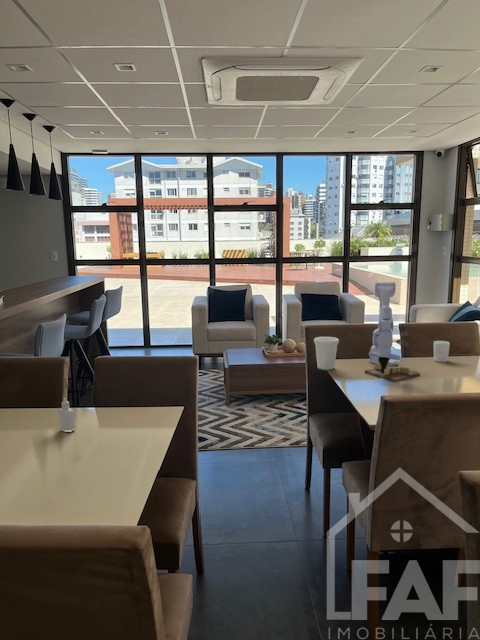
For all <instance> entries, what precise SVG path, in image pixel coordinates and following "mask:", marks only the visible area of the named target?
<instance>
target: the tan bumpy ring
mask: <svg viewBox="0 0 480 640" xmlns="http://www.w3.org/2000/svg"><path fill="white" fill-rule="evenodd" d="M389 362H390V361H389ZM389 362H388V363H387V365H386V368H385V369H384V375H390V374H391V373H392V374H398V373H405V374H409V373H410V371H411V369H410V368H411V367H410V366H406V365H405V366H404V365H403V364H401V363H400V362H401V361H398V360H393V362H392V363H389ZM388 364H396V365H397V367H389V366H388ZM374 368H375V369H379V370H381V365H380V363H379V362H376V363H375V364H374Z"/></svg>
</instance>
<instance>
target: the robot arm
mask: <svg viewBox="0 0 480 640" xmlns="http://www.w3.org/2000/svg"><path fill="white" fill-rule="evenodd" d="M374 295H375V297H377V298H378V299H379V309H378V310H379V311H378V312H379V313H378V321H377V322H378V323H377V324H378V325H377V327H378V328H375V329H374V331H373V332H372V346H371V347H370V351H369V352H368V357H369V360H368V363H371V364H374V365H375V363H376V362H379V363H380V365H381V373H384V369H385V368H386V365H387V363H388V362H389V363H393V362H391V361H390V360H393V361H398V362H400V360H401V355H398V354H394V353H392V346H393V338H394V337H393V330H394V319H393V312H392V311H393V310H392V308H391V307H390V300H391V298H392V297H394V296H395V295H396V282H395V281H377V280H376V281H375V283H374Z"/></svg>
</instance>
